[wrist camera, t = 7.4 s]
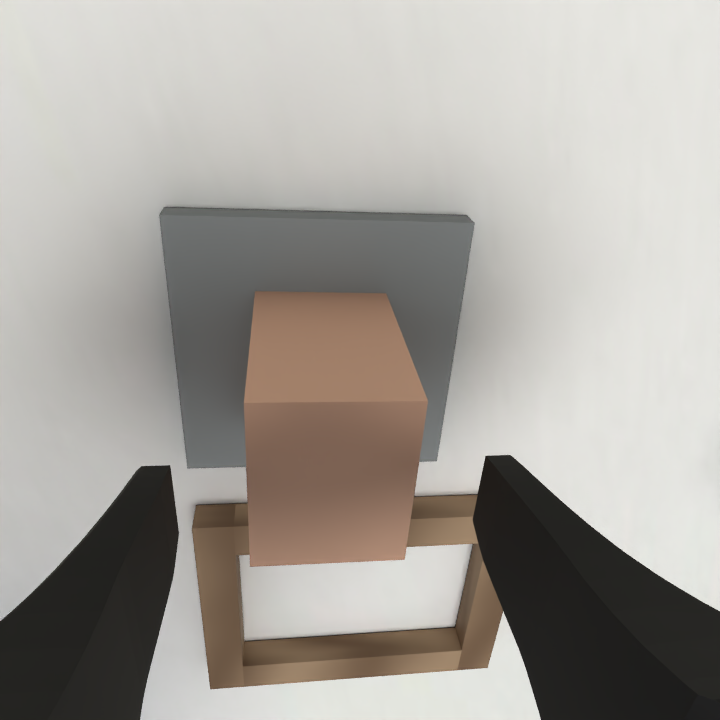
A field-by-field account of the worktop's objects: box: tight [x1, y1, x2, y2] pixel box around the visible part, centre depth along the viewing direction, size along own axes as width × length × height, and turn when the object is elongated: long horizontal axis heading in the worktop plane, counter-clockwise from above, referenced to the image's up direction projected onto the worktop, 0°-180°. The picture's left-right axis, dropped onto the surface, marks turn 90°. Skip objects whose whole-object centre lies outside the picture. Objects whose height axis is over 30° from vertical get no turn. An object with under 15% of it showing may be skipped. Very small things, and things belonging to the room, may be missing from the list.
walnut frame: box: [192, 495, 503, 689], centre depth 25 cm, size 13×10×1 cm
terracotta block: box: [244, 291, 428, 567], centre depth 16 cm, size 4×5×6 cm
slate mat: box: [159, 207, 474, 468], centre depth 19 cm, size 9×9×1 cm
